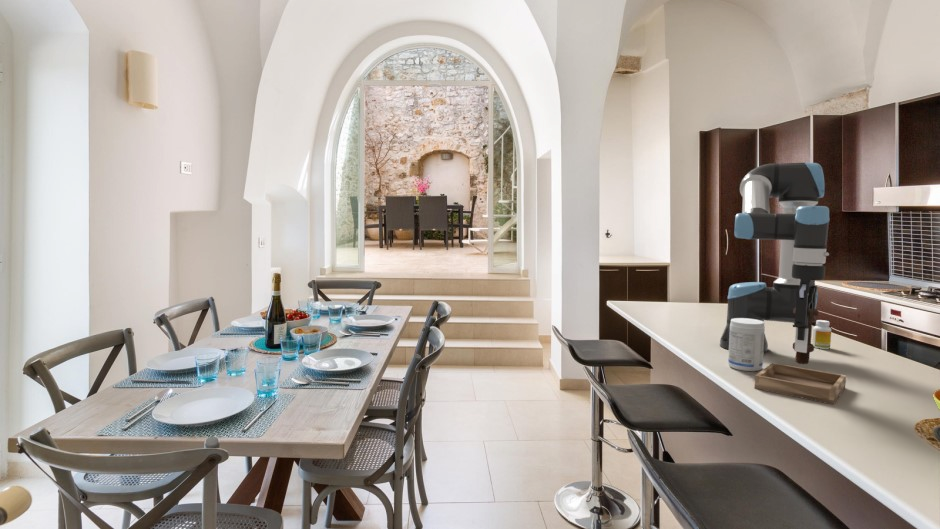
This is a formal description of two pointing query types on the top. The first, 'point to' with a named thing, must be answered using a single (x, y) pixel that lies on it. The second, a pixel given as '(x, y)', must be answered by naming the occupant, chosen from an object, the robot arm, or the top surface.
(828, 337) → the supplement bottle
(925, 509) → the top surface
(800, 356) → the bolt
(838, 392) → the tray
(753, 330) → the supplement tub
